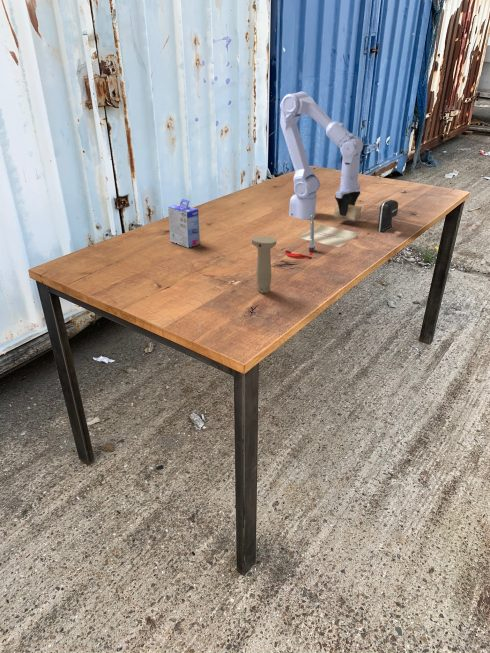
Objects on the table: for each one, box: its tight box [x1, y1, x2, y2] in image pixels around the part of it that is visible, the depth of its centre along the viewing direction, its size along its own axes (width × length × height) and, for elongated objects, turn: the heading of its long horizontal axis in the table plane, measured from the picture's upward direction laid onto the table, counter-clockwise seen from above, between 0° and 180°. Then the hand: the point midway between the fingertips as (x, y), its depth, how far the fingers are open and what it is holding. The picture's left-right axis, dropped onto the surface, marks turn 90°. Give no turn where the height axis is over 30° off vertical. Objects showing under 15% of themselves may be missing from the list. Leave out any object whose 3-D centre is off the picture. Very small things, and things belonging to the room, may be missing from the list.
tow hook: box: [285, 215, 316, 259], centre depth 158 cm, size 8×13×9 cm
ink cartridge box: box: [167, 198, 201, 249], centre depth 168 cm, size 10×6×14 cm, turn 47°
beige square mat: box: [296, 224, 361, 248], centre depth 172 cm, size 16×16×1 cm
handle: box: [251, 235, 277, 294], centre depth 135 cm, size 5×6×15 cm
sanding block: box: [333, 204, 362, 222], centre depth 180 cm, size 8×4×4 cm, turn 53°
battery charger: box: [377, 199, 399, 234], centre depth 173 cm, size 7×4×11 cm, turn 137°
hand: (346, 213), depth 180 cm, fingers closed on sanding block, 4 cm apart
